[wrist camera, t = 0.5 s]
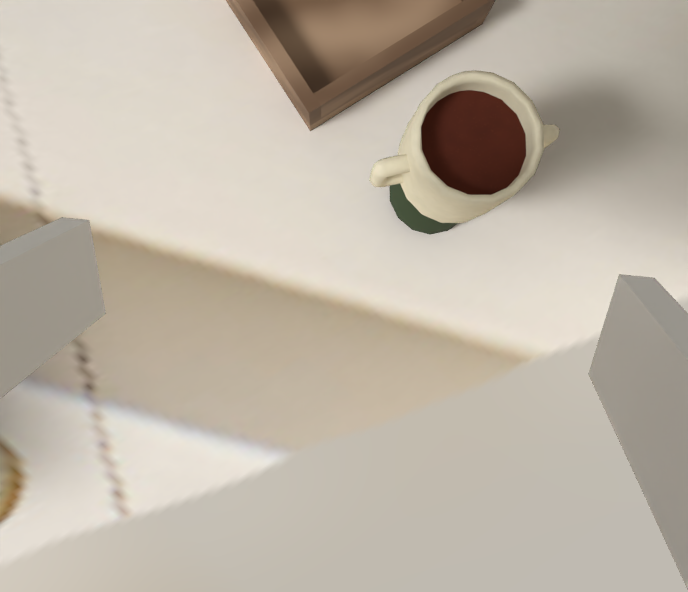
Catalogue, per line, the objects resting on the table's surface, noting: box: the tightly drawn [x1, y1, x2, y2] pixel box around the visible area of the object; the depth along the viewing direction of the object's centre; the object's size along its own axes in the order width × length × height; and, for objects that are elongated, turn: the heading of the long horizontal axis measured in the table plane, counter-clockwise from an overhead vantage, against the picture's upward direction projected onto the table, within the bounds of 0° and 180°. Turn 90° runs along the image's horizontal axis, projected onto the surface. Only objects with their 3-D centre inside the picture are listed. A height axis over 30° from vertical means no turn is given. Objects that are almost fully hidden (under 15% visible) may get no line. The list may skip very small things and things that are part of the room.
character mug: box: [369, 71, 560, 234], centre depth 33 cm, size 11×7×13 cm, turn 103°
